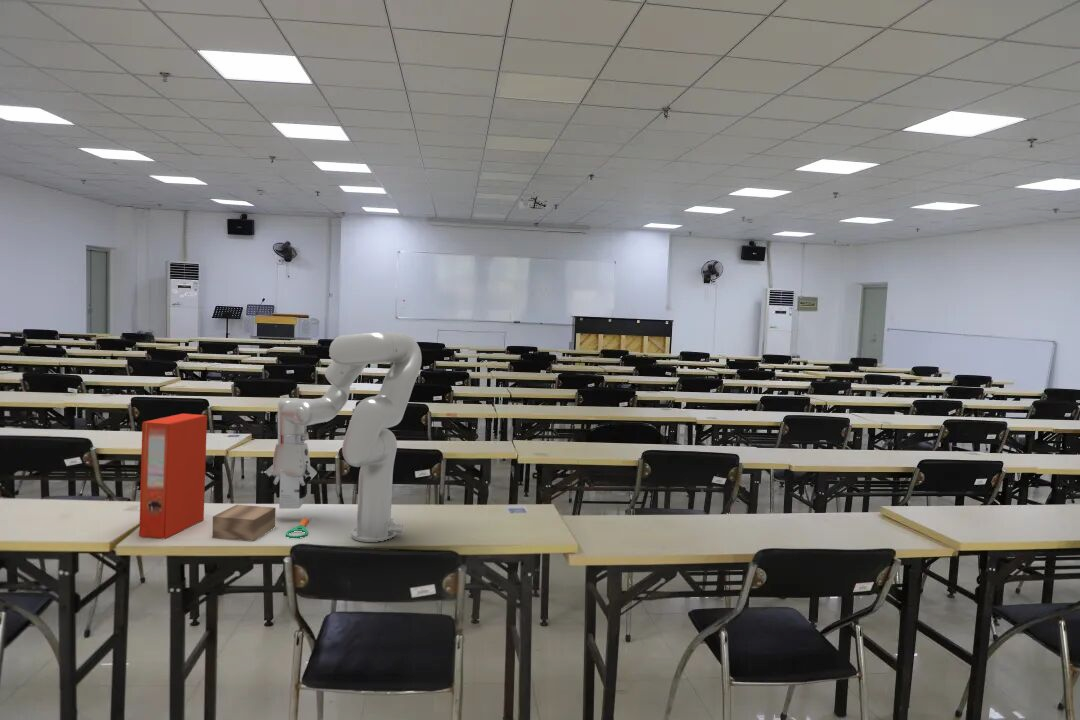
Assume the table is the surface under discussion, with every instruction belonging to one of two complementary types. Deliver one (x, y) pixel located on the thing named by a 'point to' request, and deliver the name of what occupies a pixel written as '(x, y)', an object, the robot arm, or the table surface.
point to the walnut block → (243, 522)
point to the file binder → (172, 474)
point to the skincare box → (289, 492)
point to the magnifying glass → (299, 529)
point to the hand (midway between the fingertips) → (291, 496)
